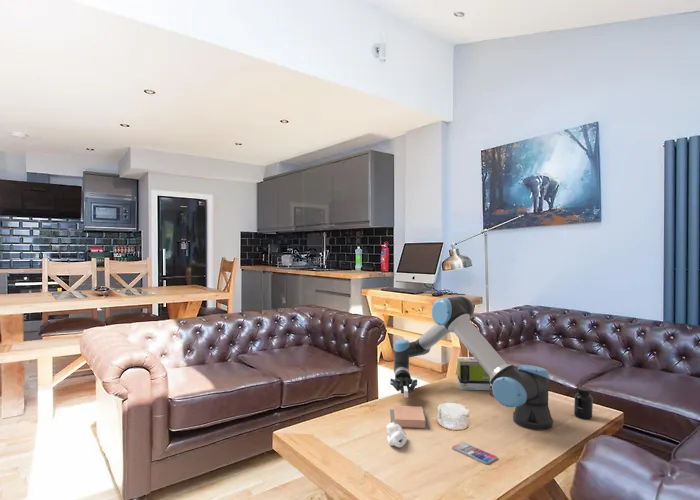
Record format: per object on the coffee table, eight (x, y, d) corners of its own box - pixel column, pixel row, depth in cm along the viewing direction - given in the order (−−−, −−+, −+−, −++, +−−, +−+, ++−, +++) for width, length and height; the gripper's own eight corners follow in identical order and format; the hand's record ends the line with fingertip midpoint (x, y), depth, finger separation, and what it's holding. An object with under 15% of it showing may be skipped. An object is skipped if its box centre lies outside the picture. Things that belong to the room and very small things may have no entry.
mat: (389, 410, 186) (389, 409, 186) (424, 411, 185) (424, 410, 185) (391, 428, 168) (391, 427, 168) (429, 430, 167) (429, 428, 167)
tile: (393, 405, 182) (394, 419, 168) (421, 406, 181) (425, 420, 167) (393, 413, 182) (394, 427, 168) (421, 414, 181) (425, 428, 167)
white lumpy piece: (399, 453, 149) (386, 432, 150) (386, 451, 160) (373, 431, 161) (416, 437, 153) (403, 416, 154) (402, 436, 164) (390, 417, 165)
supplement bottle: (575, 418, 179) (575, 390, 179) (573, 412, 185) (573, 385, 185) (593, 421, 176) (594, 392, 176) (591, 414, 183) (591, 387, 183)
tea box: (486, 384, 222) (486, 356, 221) (490, 391, 212) (490, 361, 211) (456, 383, 223) (457, 355, 223) (460, 390, 213) (460, 361, 213)
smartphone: (462, 441, 157) (499, 457, 145) (462, 443, 157) (499, 459, 145) (450, 446, 152) (487, 463, 140) (450, 449, 152) (487, 466, 140)
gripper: (416, 385, 206) (421, 403, 183) (389, 384, 207) (391, 402, 184) (416, 369, 206) (421, 386, 183) (389, 369, 207) (391, 385, 183)
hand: (406, 394), depth 183 cm, fingers closed
